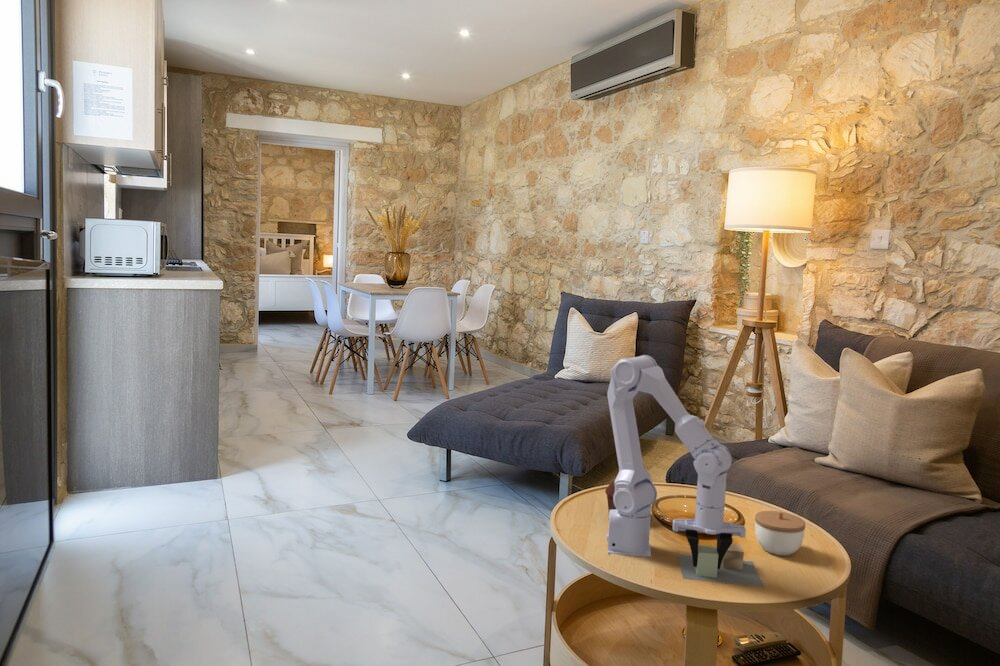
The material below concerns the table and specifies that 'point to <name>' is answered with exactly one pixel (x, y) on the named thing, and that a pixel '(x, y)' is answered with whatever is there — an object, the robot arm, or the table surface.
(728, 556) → the beech cube
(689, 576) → the slate mat
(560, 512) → the table surface
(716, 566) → the green block
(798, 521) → the lidded jar
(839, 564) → the table surface
